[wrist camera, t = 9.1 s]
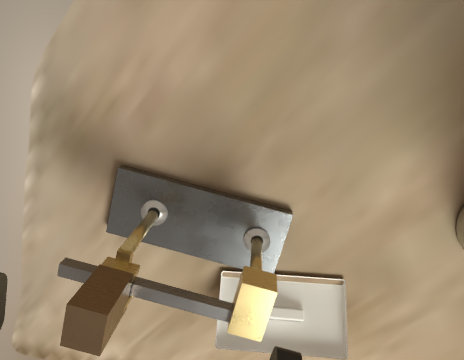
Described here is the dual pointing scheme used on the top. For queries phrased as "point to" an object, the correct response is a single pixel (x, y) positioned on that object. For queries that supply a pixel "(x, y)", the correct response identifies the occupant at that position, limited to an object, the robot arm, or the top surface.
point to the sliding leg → (103, 297)
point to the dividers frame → (236, 314)
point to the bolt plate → (197, 219)
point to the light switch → (295, 320)
